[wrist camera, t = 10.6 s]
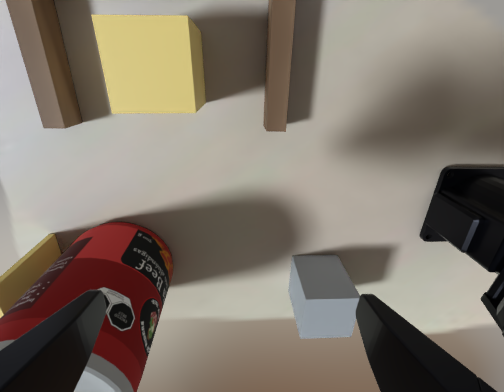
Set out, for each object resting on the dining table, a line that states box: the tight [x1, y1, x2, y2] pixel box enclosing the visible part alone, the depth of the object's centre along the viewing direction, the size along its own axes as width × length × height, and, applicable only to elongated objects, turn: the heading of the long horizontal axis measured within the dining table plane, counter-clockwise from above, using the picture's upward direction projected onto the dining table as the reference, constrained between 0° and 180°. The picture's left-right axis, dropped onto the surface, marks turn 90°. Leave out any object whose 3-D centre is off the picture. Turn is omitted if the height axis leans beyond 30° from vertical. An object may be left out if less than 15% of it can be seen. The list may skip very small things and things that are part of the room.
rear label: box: [0, 234, 62, 318], centre depth 19 cm, size 1×5×6 cm, turn 0°
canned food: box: [0, 222, 173, 392], centre depth 17 cm, size 8×8×11 cm
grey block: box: [289, 255, 360, 339], centre depth 22 cm, size 4×4×5 cm
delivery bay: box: [6, 0, 296, 132], centre depth 15 cm, size 14×9×2 cm, turn 89°
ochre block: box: [91, 15, 206, 114], centre depth 14 cm, size 4×4×5 cm
